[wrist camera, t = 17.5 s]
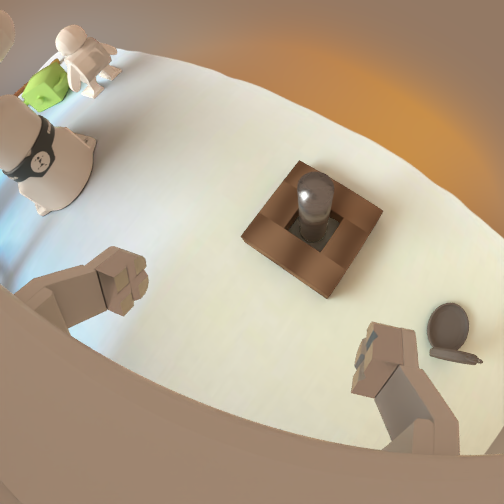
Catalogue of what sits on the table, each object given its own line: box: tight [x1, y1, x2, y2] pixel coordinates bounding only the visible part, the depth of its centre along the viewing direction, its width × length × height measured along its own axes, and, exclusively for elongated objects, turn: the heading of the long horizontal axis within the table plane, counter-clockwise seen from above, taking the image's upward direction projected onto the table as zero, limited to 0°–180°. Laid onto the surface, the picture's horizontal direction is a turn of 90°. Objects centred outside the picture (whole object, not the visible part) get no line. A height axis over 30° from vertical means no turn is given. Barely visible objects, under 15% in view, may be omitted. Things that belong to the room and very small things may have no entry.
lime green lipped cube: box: [22, 62, 69, 112], centre depth 56 cm, size 18×10×10 cm, turn 92°
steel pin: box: [297, 171, 334, 242], centre depth 33 cm, size 4×4×12 cm
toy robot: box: [56, 25, 122, 99], centre depth 47 cm, size 14×9×20 cm, turn 144°
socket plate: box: [241, 160, 383, 299], centre depth 37 cm, size 13×13×2 cm
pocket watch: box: [427, 303, 483, 365], centre depth 27 cm, size 8×8×10 cm
